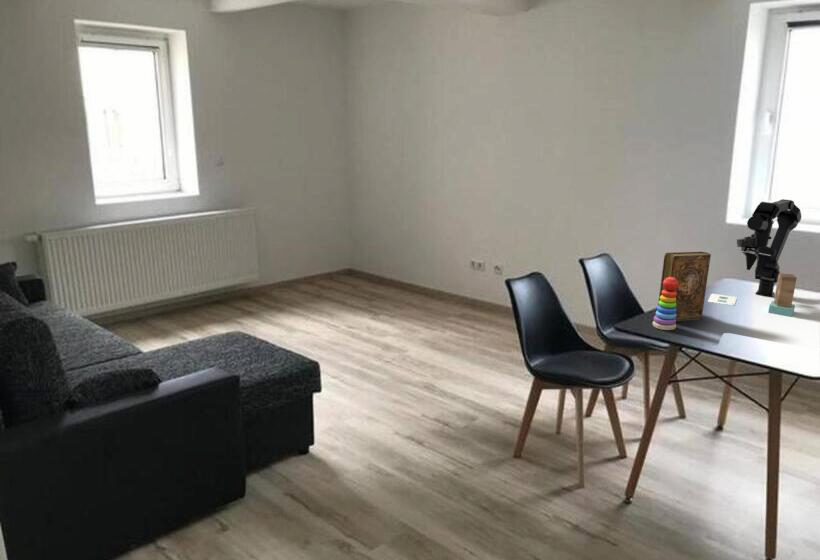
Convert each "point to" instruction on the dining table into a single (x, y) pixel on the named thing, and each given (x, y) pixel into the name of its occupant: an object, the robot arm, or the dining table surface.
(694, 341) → the dining table surface
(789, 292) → the column brick
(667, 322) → the stacking toy
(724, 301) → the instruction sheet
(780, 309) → the base brick
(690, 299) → the book
